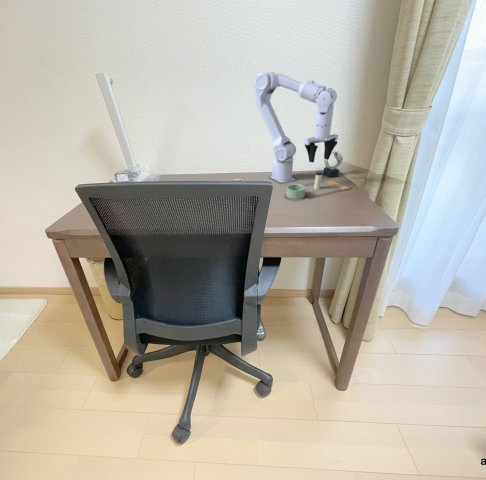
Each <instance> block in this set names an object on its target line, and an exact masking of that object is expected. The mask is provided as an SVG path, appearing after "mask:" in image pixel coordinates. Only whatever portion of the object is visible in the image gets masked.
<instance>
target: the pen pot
mask: <svg viewBox="0 0 486 480" xmlns="http://www.w3.org/2000/svg"><path fill="white" fill-rule="evenodd" d="M306 189H307V188H306V186H305V185H304V184H297V183H295V184H294V183H293V184H288V185H287V186H286V192H285V195H286V197H287V198H289V199H292V200H301V199H304V198H305V197H306V196H305V194H306Z"/></svg>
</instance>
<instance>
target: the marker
mask: <svg viewBox="0 0 486 480" xmlns="http://www.w3.org/2000/svg"><path fill="white" fill-rule="evenodd" d="M322 174H323V171H320V170H318V171H316V172H315V177H314V185H313V189H314V190H320V189H321V183H322V178H323V177H322V176H323V175H322Z"/></svg>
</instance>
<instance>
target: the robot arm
mask: <svg viewBox="0 0 486 480" xmlns="http://www.w3.org/2000/svg"><path fill="white" fill-rule="evenodd" d="M279 87H282V88H285V89H288V90H290V91H294V92H296V93H298V95H299V98H301V99H303V100H305V101H308V102H311V103H314V104H316V105H317V110H316V118H315V125H314V127H315V128H314V135H313V136H312V137H309V138H304V147H305V149H306V152H307V156H308V162H309V163H315V158H316V153H317V150H318V147H319V145H316V144H319V143H323V145H324V153H323V158H324V159H327V160H328V161H329V160H330V157H331V155H332V154H333V153H332V151H334V149H335V147H336V146H337V144H338V139H339V134H335V133H333V134H331V131H332V130H331V129H332V123H333V116H334V107H335V102H336V101H337V97H338V94H337V91H336V90H335V89H334V88H332V87H327V85H324V84H323V85H320V84H318V83H315V81H314V80H313V79H310V80H306V81H304V82H301V81H299V80H296V79H294V78H292V77H290V76H287V75H285V74H282V73H276V72H274V71H269V72H260V73H258V74H257V75H256V77H255V79H254V82H253V88H254V90H255V92H254V93H255V104H256V107H257V109H258V111H259V113H260V116H261V118H262V119H263V121H264V124H265V126H266V128H267V131H268V132H269V134H270V136H271V139H272V140H273V146H272V148H273V152H274V157H275V159H274V160H273V162H272V164H271V166H272V167H271V176H269V178H270V179H273V180H274V181H277V182H279V183H286V182H292V181H296V179H295V178H294V177H293V167H294V156H295V155H296V152H297V147H296V145H295V144H294V143H293V142H292V140H291V139H290V137H288V136H286V134H285V133H286V132H285V131H284V129H283V127H282V125H281V123H280V120H279V118H278V115H277V114H276V111H275V108H274V107H273V105H272V102H271V99H272V95H273V93H274V92H275V91H276V89H277V88H279ZM331 153H332V154H331Z"/></svg>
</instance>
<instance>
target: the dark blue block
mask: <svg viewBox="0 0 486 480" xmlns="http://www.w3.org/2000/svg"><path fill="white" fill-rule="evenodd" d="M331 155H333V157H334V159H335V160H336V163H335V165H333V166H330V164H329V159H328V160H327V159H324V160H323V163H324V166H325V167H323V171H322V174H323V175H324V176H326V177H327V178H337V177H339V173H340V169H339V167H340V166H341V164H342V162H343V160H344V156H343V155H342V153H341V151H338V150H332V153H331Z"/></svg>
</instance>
